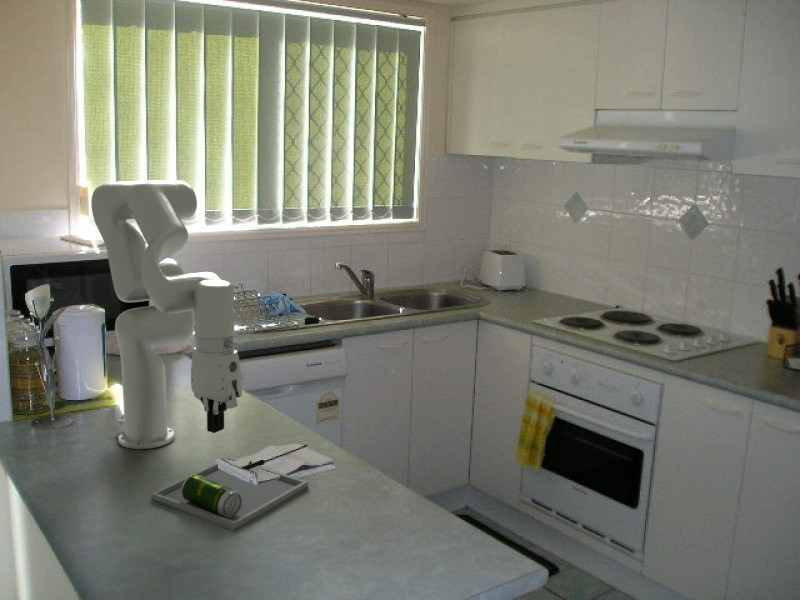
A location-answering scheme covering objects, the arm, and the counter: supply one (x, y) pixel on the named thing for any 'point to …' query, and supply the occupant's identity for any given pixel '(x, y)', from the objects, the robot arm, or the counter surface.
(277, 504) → the grey rimmed serving tray
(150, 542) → the counter surface
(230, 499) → the beer can
